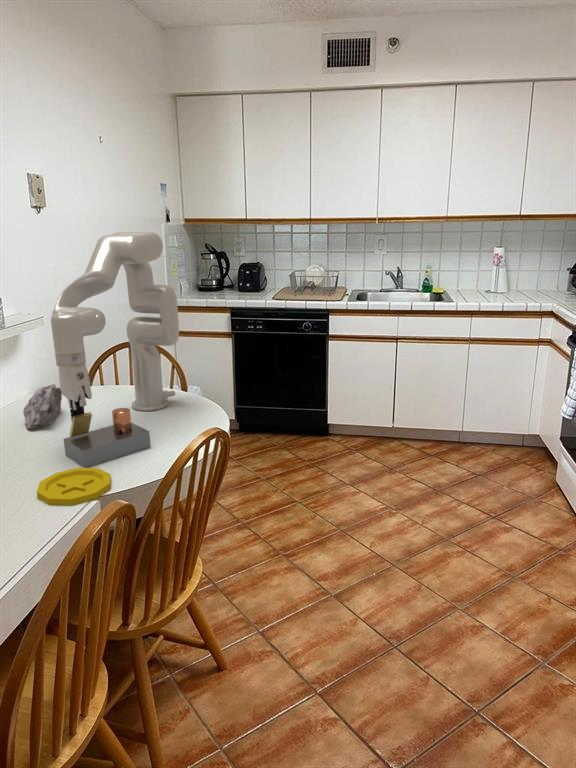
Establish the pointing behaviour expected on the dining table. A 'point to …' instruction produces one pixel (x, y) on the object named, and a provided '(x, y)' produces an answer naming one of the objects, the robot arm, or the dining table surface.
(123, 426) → the small bottle
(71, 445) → the plate
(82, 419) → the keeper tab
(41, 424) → the rock
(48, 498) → the decorative disc
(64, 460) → the dining table surface
